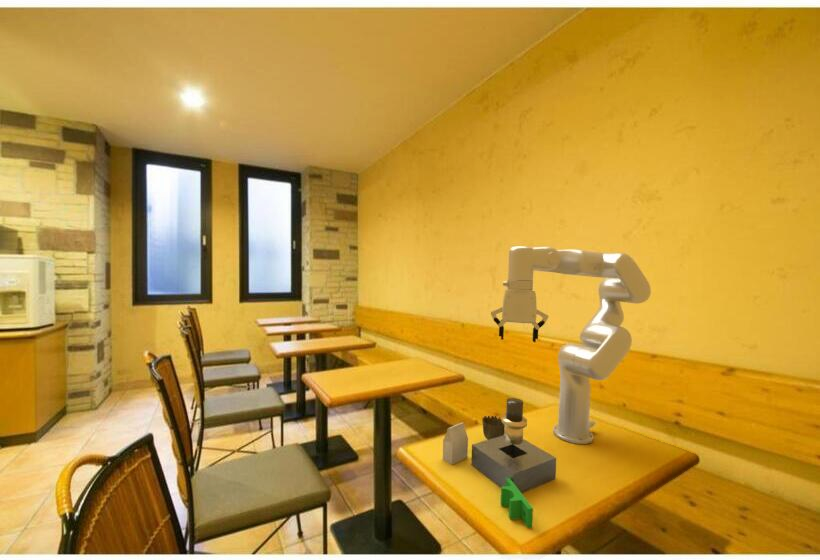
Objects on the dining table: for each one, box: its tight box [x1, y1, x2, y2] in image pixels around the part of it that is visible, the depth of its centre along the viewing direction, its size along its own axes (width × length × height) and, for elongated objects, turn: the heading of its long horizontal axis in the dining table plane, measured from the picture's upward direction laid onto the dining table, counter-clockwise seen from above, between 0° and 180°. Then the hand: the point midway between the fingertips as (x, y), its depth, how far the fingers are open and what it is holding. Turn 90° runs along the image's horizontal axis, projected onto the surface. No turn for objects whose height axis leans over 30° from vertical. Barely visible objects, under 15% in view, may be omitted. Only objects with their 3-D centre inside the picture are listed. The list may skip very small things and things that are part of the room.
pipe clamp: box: [500, 478, 534, 529], centre depth 83 cm, size 11×4×5 cm, turn 10°
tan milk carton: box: [442, 422, 469, 466], centre depth 105 cm, size 4×7×10 cm, turn 130°
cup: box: [481, 415, 505, 440], centre depth 114 cm, size 8×7×8 cm
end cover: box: [500, 397, 528, 445], centre depth 99 cm, size 7×7×11 cm
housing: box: [470, 435, 557, 494], centre depth 99 cm, size 16×16×6 cm
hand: (517, 340), depth 112 cm, fingers open, 9 cm apart
